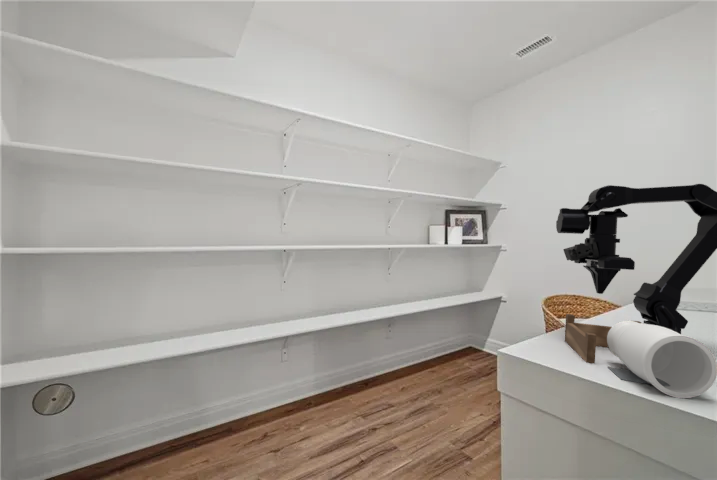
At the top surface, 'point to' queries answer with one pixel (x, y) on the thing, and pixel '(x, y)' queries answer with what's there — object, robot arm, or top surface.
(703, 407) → the top surface
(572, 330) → the low open wooden frame
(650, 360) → the jar
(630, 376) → the plate
